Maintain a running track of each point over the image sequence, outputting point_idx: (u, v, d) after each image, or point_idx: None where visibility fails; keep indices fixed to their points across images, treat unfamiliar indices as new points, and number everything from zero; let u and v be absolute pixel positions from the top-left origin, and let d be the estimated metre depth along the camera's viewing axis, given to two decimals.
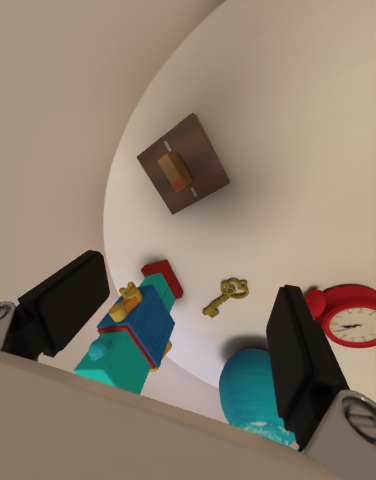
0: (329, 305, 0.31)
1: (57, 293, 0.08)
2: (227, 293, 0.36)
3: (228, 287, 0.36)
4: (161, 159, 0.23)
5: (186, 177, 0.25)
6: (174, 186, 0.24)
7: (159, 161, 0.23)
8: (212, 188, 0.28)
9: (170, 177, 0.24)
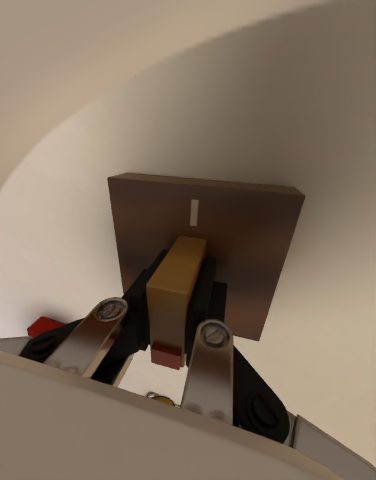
0: None
1: None
2: None
3: None
4: (161, 291, 0.07)
5: None
6: (155, 356, 0.08)
7: (152, 291, 0.07)
8: None
9: (158, 333, 0.08)
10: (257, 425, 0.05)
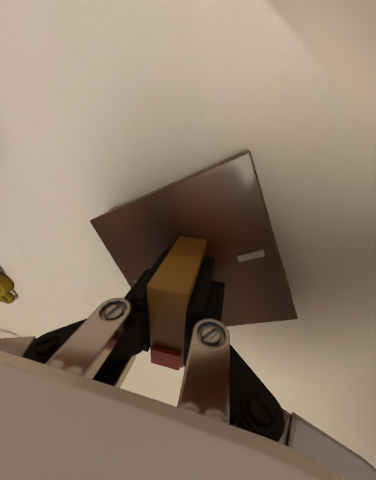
0: None
1: None
2: None
3: None
4: (161, 292, 0.07)
5: None
6: (155, 356, 0.08)
7: (152, 292, 0.07)
8: None
9: (158, 333, 0.08)
10: (252, 424, 0.05)
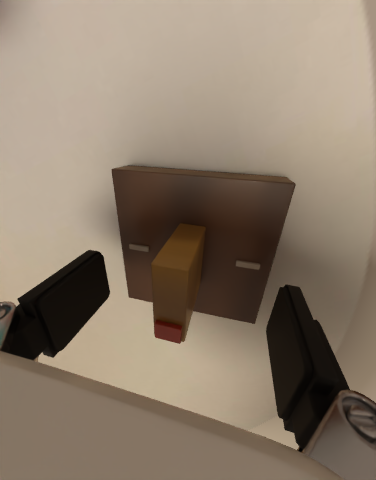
0: None
1: (57, 293, 0.08)
2: None
3: None
4: (164, 269, 0.08)
5: (193, 300, 0.11)
6: (158, 331, 0.09)
7: (156, 269, 0.08)
8: (131, 275, 0.15)
9: (161, 309, 0.09)
10: None
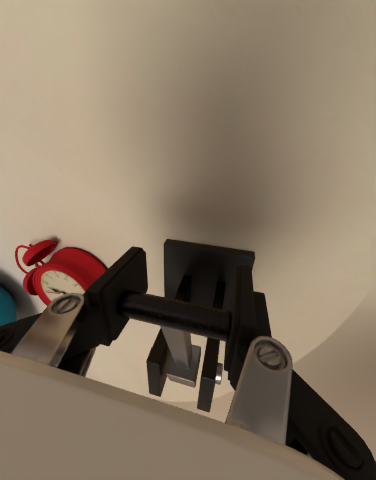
0: (49, 261, 0.26)
1: (116, 285, 0.08)
2: None
3: None
4: None
5: None
6: None
7: None
8: None
9: None
10: (341, 466, 0.04)
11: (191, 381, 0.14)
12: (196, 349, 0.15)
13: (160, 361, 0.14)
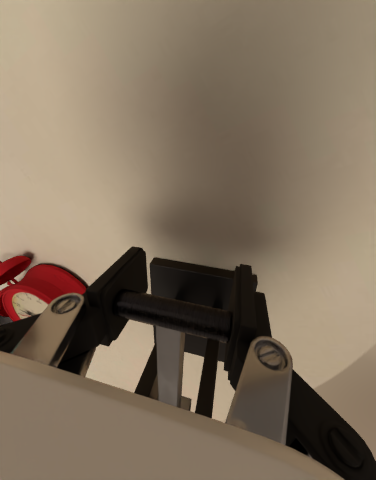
0: None
1: (115, 285, 0.08)
2: None
3: None
4: None
5: None
6: None
7: None
8: None
9: None
10: (341, 466, 0.04)
11: None
12: (185, 402, 0.13)
13: None
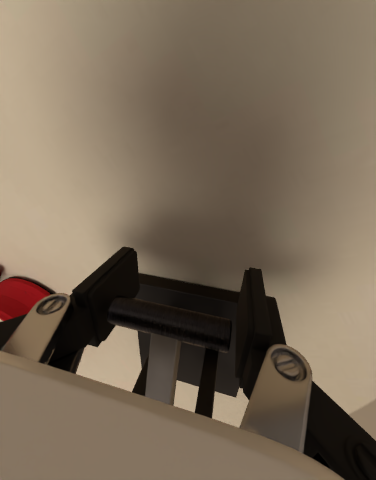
0: None
1: (104, 286, 0.08)
2: None
3: None
4: None
5: None
6: None
7: None
8: None
9: None
10: None
11: None
12: None
13: None
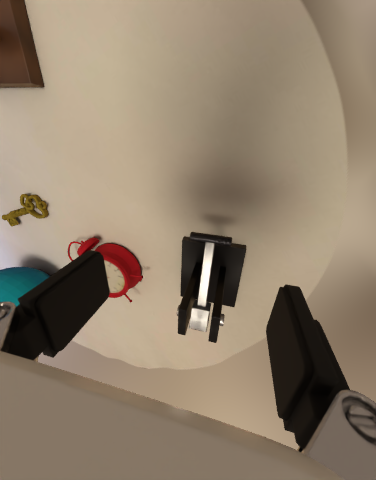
0: None
1: (57, 293, 0.08)
2: (25, 206, 0.36)
3: (27, 201, 0.35)
4: None
5: None
6: None
7: None
8: (14, 78, 0.25)
9: None
10: None
11: (207, 311, 0.23)
12: (208, 303, 0.25)
13: (186, 309, 0.23)
